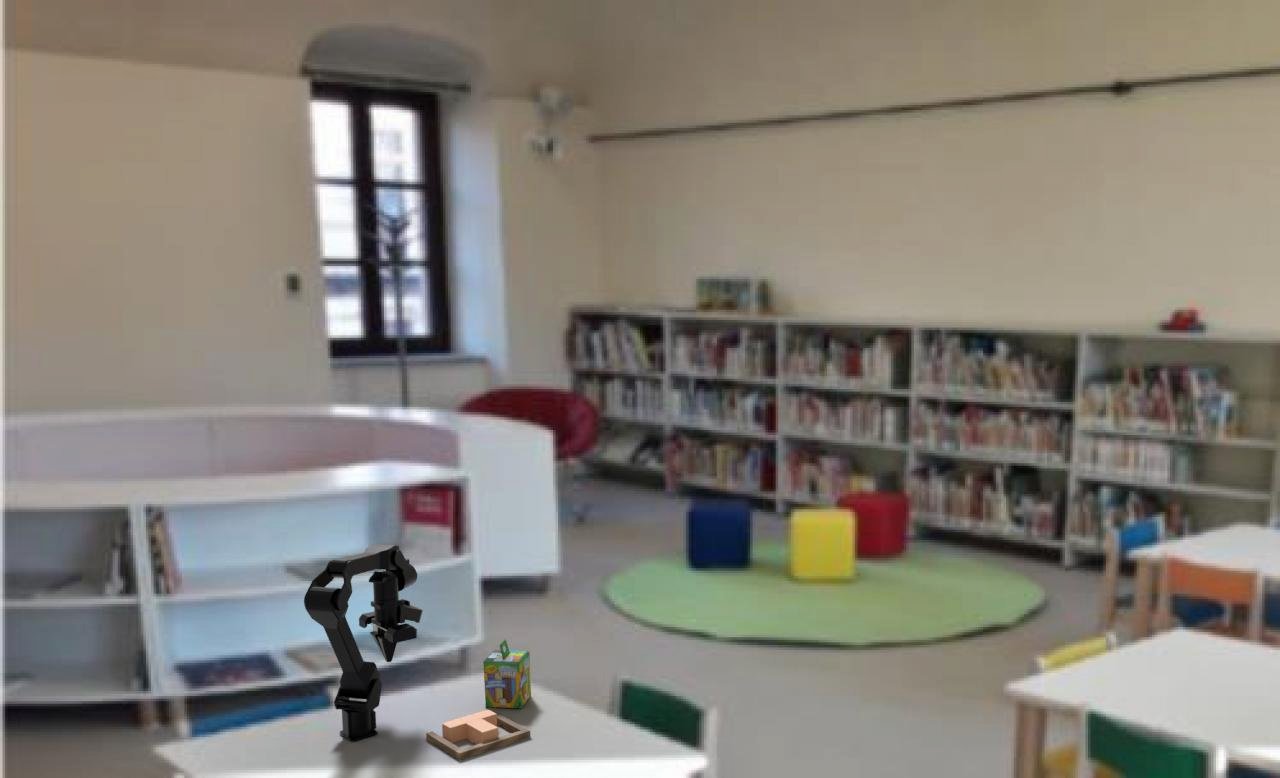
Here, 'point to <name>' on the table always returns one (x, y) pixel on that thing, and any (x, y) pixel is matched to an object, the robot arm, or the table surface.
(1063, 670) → the table surface
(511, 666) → the chalk box
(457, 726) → the t block
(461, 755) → the bay
